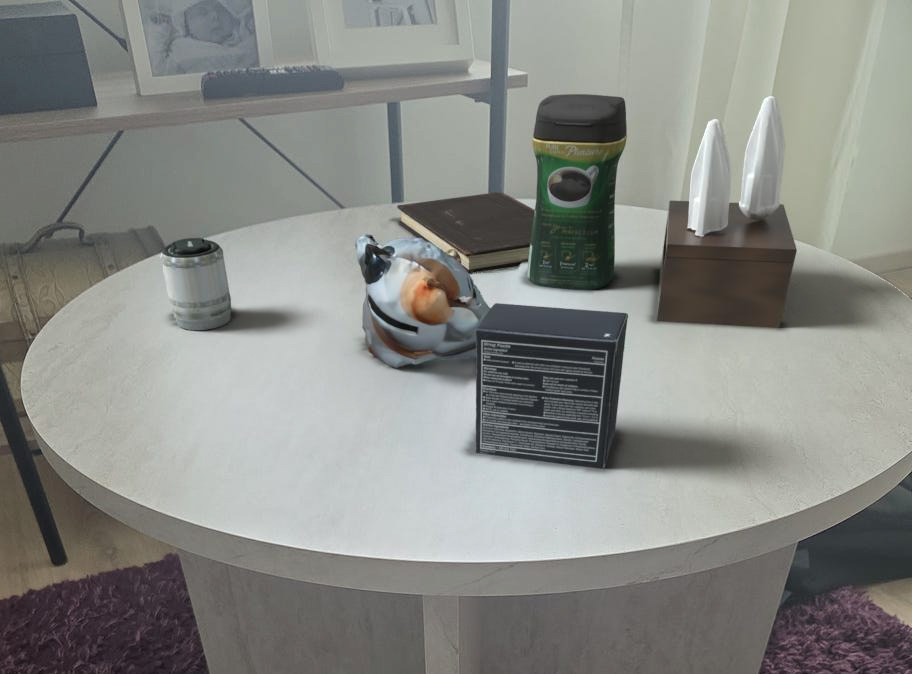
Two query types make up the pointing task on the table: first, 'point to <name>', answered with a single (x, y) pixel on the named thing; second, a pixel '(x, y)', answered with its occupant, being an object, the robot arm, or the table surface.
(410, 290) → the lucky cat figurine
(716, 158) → the shaker set
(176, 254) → the camera lens
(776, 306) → the brown wooden box
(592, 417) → the small box
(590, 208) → the coffee jar
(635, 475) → the table surface
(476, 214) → the hardcover book
